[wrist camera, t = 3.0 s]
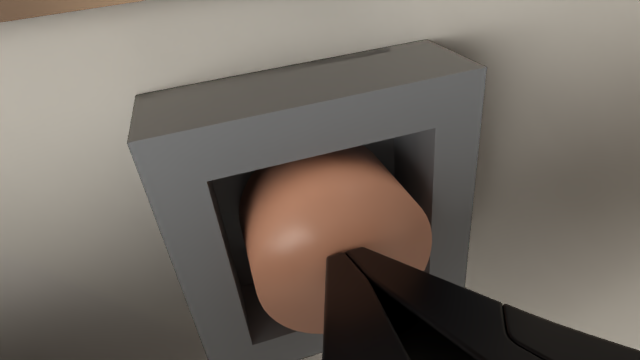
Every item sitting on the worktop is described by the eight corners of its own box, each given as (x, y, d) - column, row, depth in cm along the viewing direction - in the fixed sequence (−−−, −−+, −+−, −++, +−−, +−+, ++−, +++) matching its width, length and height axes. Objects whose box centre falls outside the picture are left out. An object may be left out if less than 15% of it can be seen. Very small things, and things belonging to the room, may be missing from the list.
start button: (254, 283, 12) (271, 354, 10) (223, 156, 10) (236, 215, 8) (389, 245, 13) (429, 304, 11) (386, 119, 11) (435, 164, 9)
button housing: (210, 314, 13) (218, 386, 11) (135, 95, 10) (127, 142, 8) (421, 252, 15) (462, 306, 13) (426, 39, 11) (486, 66, 9)
